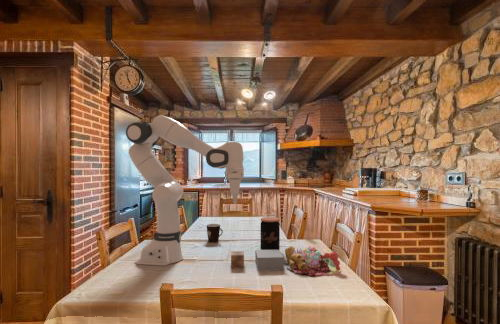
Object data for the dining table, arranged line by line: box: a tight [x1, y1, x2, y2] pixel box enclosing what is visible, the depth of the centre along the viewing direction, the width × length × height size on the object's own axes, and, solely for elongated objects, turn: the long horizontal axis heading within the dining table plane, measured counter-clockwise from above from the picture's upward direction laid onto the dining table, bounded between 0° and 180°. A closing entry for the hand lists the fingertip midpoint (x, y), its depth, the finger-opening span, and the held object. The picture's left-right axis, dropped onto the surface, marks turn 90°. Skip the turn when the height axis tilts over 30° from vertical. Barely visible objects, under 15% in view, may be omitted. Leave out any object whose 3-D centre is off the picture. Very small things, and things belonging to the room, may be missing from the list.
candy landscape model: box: [284, 245, 342, 277], centre depth 133 cm, size 25×24×9 cm
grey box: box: [254, 249, 285, 271], centre depth 134 cm, size 12×12×6 cm
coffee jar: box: [260, 216, 281, 250], centre depth 157 cm, size 11×11×18 cm
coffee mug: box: [206, 223, 224, 243], centre depth 176 cm, size 12×9×10 cm
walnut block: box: [230, 250, 245, 269], centre depth 134 cm, size 6×6×6 cm
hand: (235, 202), depth 137 cm, fingers open, 8 cm apart
